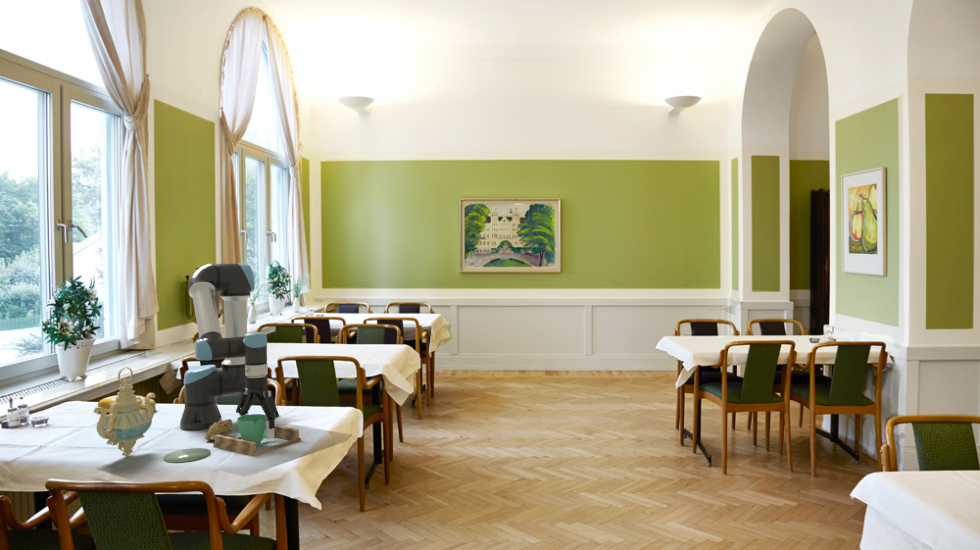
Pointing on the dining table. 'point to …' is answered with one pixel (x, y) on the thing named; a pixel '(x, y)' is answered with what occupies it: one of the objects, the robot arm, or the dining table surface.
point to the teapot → (125, 418)
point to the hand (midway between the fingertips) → (257, 435)
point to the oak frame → (250, 447)
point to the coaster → (187, 455)
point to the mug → (252, 427)
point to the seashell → (219, 429)
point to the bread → (106, 401)
